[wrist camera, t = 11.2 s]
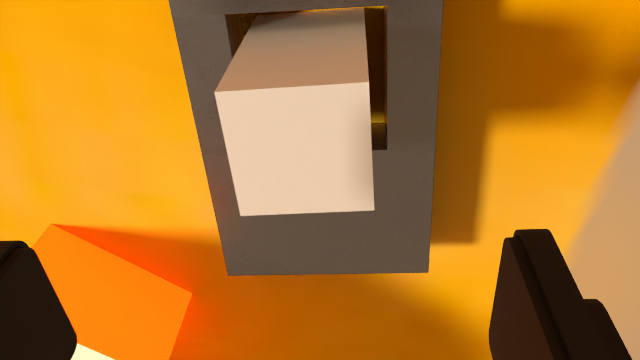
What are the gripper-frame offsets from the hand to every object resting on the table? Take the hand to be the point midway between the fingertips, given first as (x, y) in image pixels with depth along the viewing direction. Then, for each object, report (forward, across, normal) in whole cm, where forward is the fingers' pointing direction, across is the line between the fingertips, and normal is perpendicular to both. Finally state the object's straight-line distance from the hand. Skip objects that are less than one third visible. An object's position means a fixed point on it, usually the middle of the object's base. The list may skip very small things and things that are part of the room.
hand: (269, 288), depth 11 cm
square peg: (+14, 0, +1) cm, 14 cm away
